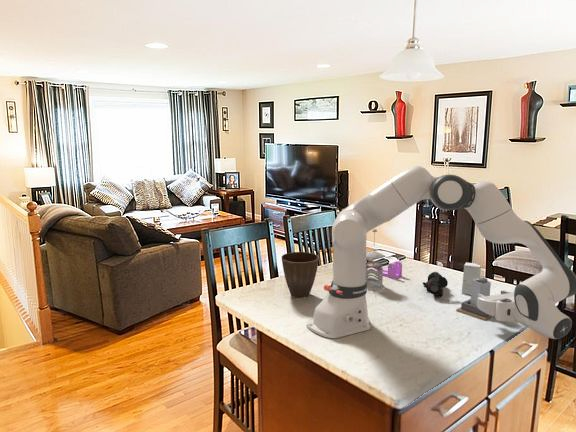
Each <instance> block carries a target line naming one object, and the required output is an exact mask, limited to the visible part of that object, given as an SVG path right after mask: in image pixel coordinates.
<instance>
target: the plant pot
mask: <svg viewBox="0 0 576 432" xmlns="http://www.w3.org/2000/svg"><path fill="white" fill-rule="evenodd" d="M319 259H320V257H319V255H318V254H315V253H312V252H308V251H294V252H287V253H285V254H282V255H281V263H282V269H283V275H284V278H285V282H286V286H287V288H288V291H289V293H290V297H293V298H297V299H305V298H308V297H309V296H310V294H311V291H312V288H313V286H314V283H315V279H316V277H317V276H316V275H317V271H318V266H319ZM304 297H305V298H304Z"/></svg>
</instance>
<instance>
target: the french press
mask: <svg viewBox="0 0 576 432" xmlns="http://www.w3.org/2000/svg"><path fill="white" fill-rule="evenodd" d="M371 232H372V233H374V237H373V245H375V237H376V233H377V232H378V230H377V229H376V228H374V229H372V230H371ZM384 257H385V256H384V254H383V253H382V252H379V251H375V250H372V251H368V252H367V251H366V259H367V258H368V259H373V261H368V262H366V283H367V291H380V290H381V291H382V290H384V289H385V287H386V286H385V285H384V284H383V277H384V276H383V269H384V267H382V266H383V264H382V263H380V262H378V261H375V260H376V259H377V260H379V259H382V258H384ZM374 269H376V270H378V271H375V270H374Z"/></svg>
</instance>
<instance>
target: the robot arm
mask: <svg viewBox="0 0 576 432" xmlns="http://www.w3.org/2000/svg"><path fill="white" fill-rule="evenodd" d="M423 200H430V201H431V202H432V203H433V205H434V206H435V207H436V208H438V209H440V210H444V211H456V210H461V209H464V210H466V211H467V212H468V213H469V214H470V216H471V218H472V220H473V221H474V224H475V225H476V227H477V229H478V231H479V232H480V235H482V237H483V238H484V239H485V240H487V241H488V242H490V243H494V244H498V245H504V244H505V245H506V244H507V245H508V244H522V245H524V247H525V246H526V248H528V249H529V251H530V252H531V254H532V255H533V256H534V257H535V259H536V261H538V263H539V264H540V265H541V267H542V270H541V271H540V272H539V273H537V274H535V275H533V276H530V277H529V278H527V279H525V280H524V281H522V282H520V283H519V284H517V285H516V286H515V287H514V290H513V292H512V291H507V290H500V294H495V295H494V294H493V295H490V296H485V294H483V293H481V294H478V299H477V308H478V309H480V310H481V311H483V312H485V313H486V314H488V315H491V316H493V317H495V320H496V321H498V322H506V323H507V322H509V323H510V322H511V323H515V324H521V325H522V326H525V327H529V329H530V330H532V331H533V332H536V333H537V334H539V335H541V336H544V337H545V338H549V339H553V340H559V339H561V338H563V337H565V336H566V335H568V333H569V332H570V330H571V329H572V327H573V326H572V325H573V321H572V319H571V317H569V316H568V315H566V314H565V313H563V312H561V310H559V308H558V307H557V306H556V304H558V303H560V302H561V301H563V300H566V299H569V298H570V297H572V296H574V295H576V274H575V272H574V271H573V270H572V269H571V268H569V266H568V265H566V263H564V261H562V259H561V258H560V256H559V255H558V253H556V251H555V250H554V248H553V247H552V246H551V244H549V242H548V241H547V239H546V238H545V237H544V236H543V235H542V233H541V232H540V230H538V229H537V227H536V226H535V225H534V224H533V223H532V222H530V221H528V220H523V219H522V218H520V217H519V216H518V215H517V214H516V213H515V212H514V210H513V208H512V206H511V204H510V202H508V200H507V198H506V196H504V194H503V193H502V191H501V190H500V188H498V187H497V186H496V184H495V183H494V182H491V181H479V182H477V183H475V184H472V183H471V182H469V181H467V180H466V179H465V178H463V177H461V176H458V175H456V174H444V175H440V176H437V177H436V176H433V175H432V174H431V173H430V171H429V170H428V169H426V168H424V167H422V166H419V165H415V166H412V167H410V168H408V169H405V170H403V171H401V172H399V173H398V174H396V175H394V176H393V177H391V178H390V179H388V180H387V181H385V182H384V183H383V184H381V185H380V186H378V187H377V188H376V189H373V191H371V192H369V193H368V194H367V195H364V196H363V197H361V198H359V199H357V200H355V202H353V203H351V204H349V205H348V206H347V207H345V208H344V209H342V210H341V211H340V212H338V214H337V216H336V218H335V220H334V222H333V223H332V227H331V242H332V244H331V245H332V259H333V261H332V262H333V263H332V266H333V267H332V268H333V269H332V273H333V274H332V280H331V283H330V285H329V284H327V283H325V284H324V286H323V290H324V291H326V292H328V294H327V295H326V296H325V297H324V298H322V301H321V302H320V303H319V304H318V305H317V306H315V308H314V310H313V311H314V313H313V318H312V319H310V320H308V321H307V322H306V327H307V329H309V330H310V331H312V332H313V333H315V334H317V335H318V336H319V335H320V337H325V338H328V339H338V338H342V337H345V336H350V335H355V334H358V333H363V332H366V331H369V330H371V324H370V319H369V314H368V313H369V312H368V310H369V309H368V304H367V298H366V296H367V293H368V289H367V283H366V263H367V257H366V253H367V234H368V232H369V231H373V229H376V228H377V227H379V226H381V225H383V224H386V223H388V222H390V221H392V220H393V219H394V218H396V217H398V216H399V215H400V214H402V213H403V212H405V211H407V210H409V209H410V208H411V207H413V206H414V205H415V204H417V203H419V202H421V201H423Z"/></svg>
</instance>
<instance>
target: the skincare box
mask: <svg viewBox="0 0 576 432" xmlns="http://www.w3.org/2000/svg"><path fill="white" fill-rule="evenodd" d="M481 270H482V264H479V263H474V262H465V264H464V265H463V277H462V285H461V287H462V288H461V294H464V295H465V294H466V295H470V296H471V287H472V280H474V279H475V278H476V277H481V272H482V271H481Z"/></svg>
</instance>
